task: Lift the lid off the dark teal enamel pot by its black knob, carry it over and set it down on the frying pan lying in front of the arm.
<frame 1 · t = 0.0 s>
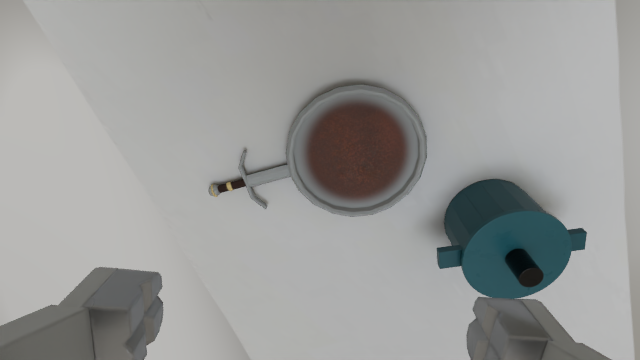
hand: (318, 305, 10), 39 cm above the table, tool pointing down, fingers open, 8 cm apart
lid: (514, 254, 46), point 8 cm above the table, touching pot
frying pan: (313, 160, 51), on the table
pot: (486, 217, 54), on the table
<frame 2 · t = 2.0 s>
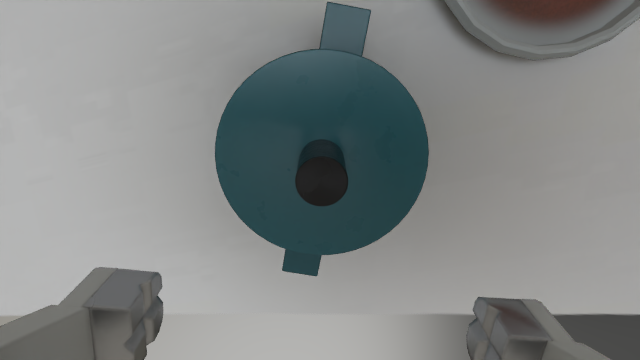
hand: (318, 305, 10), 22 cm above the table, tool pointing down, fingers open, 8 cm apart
lid: (321, 158, 23), point 8 cm above the table, touching pot
pot: (321, 128, 31), on the table
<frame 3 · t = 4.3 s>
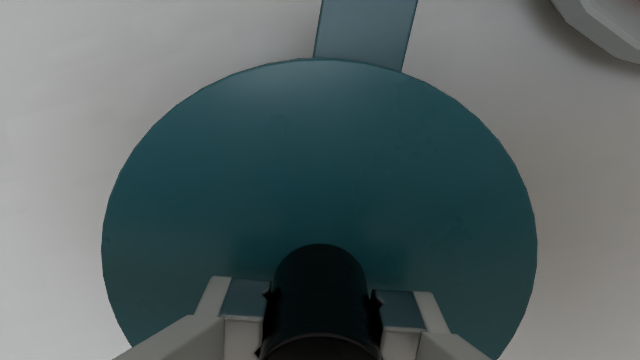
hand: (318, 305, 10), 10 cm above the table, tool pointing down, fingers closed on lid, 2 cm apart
lid: (319, 272, 12), point 9 cm above the table, touching gripper, pot
pot: (318, 178, 20), on the table
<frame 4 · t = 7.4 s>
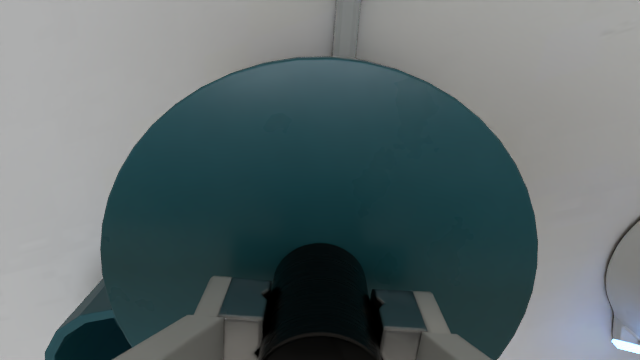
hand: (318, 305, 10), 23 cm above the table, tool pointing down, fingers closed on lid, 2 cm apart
lid: (319, 271, 12), point 21 cm above the table, touching gripper
frying pan: (339, 95, 31), on the table
pot: (166, 303, 37), on the table
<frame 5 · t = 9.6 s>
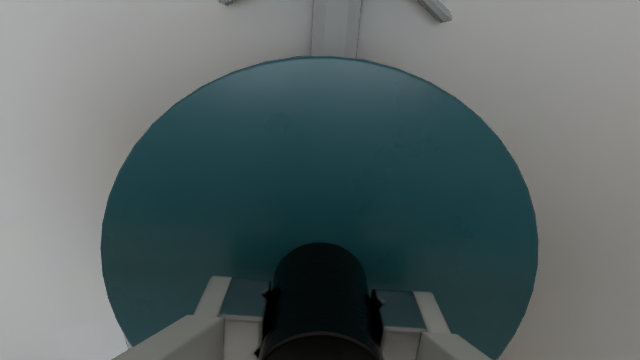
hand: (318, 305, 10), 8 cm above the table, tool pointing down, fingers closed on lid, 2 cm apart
lid: (319, 270, 12), point 6 cm above the table, touching gripper
frying pan: (322, 195, 18), on the table
when the fingers open (5 cm above the table, at t = 10.7 s): lid stays where it is, resting on frying pan.
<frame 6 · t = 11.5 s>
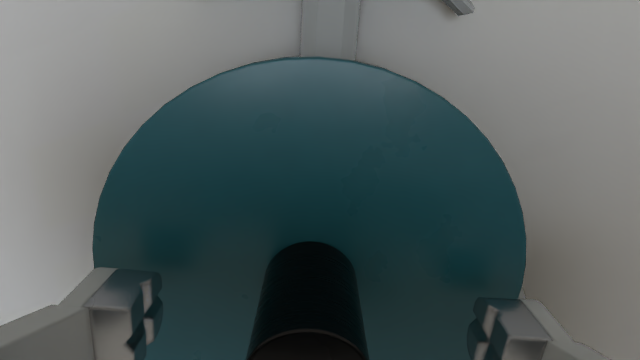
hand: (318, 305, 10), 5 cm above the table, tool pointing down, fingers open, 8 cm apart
lid: (310, 269, 12), point 3 cm above the table, touching frying pan
frying pan: (316, 221, 15), on the table, touching lid
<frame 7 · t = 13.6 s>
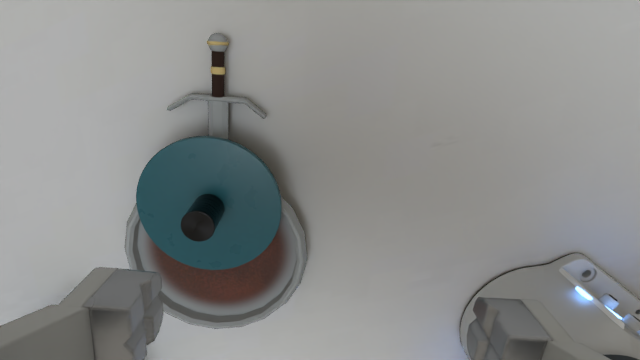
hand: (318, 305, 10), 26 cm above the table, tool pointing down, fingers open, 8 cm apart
lid: (210, 205, 34), point 3 cm above the table, touching frying pan
frying pan: (221, 190, 38), on the table, touching lid
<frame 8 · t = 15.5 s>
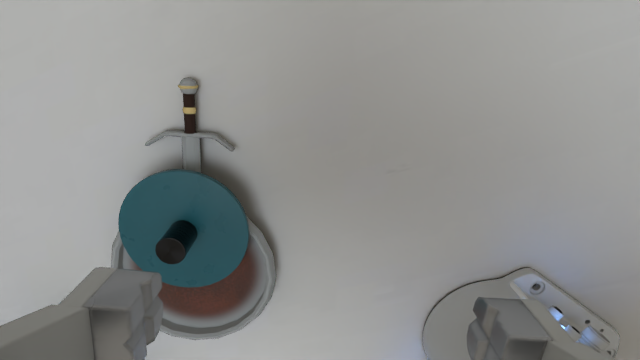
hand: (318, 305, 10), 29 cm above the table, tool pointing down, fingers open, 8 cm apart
lid: (185, 229, 38), point 3 cm above the table, touching frying pan
frying pan: (197, 214, 41), on the table, touching lid
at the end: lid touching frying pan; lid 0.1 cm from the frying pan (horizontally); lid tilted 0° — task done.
